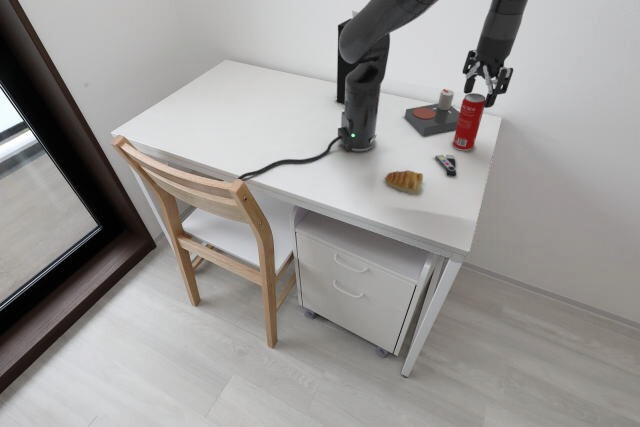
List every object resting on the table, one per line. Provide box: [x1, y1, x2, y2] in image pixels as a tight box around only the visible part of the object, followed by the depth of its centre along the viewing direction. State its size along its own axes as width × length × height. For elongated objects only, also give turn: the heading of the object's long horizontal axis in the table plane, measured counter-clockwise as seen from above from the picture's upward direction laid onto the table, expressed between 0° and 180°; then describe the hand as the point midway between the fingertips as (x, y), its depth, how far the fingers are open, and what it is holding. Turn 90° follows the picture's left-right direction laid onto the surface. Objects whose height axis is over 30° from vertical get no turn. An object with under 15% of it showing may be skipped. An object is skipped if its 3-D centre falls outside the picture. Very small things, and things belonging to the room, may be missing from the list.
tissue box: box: [336, 10, 359, 105], centre depth 110 cm, size 8×8×28 cm
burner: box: [413, 108, 435, 119], centre depth 107 cm, size 7×7×1 cm
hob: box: [404, 100, 460, 137], centre depth 108 cm, size 16×13×3 cm
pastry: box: [384, 169, 424, 195], centre depth 86 cm, size 9×7×4 cm
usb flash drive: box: [434, 154, 457, 177], centre depth 92 cm, size 9×5×1 cm, turn 166°
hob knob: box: [437, 88, 455, 110], centre depth 107 cm, size 4×4×5 cm
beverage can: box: [452, 92, 486, 151], centre depth 94 cm, size 6×6×15 cm
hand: (477, 99), depth 89 cm, fingers open, 8 cm apart
